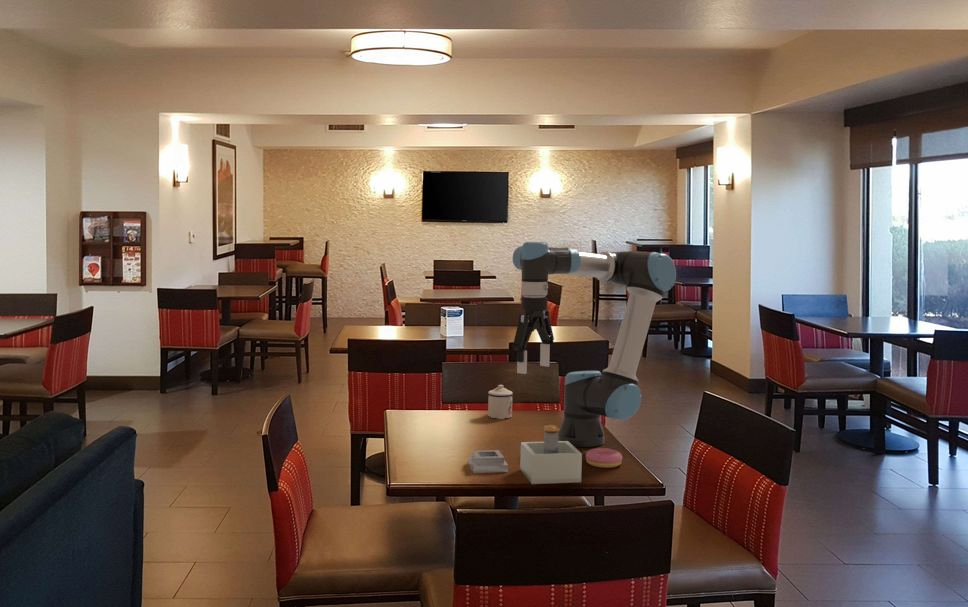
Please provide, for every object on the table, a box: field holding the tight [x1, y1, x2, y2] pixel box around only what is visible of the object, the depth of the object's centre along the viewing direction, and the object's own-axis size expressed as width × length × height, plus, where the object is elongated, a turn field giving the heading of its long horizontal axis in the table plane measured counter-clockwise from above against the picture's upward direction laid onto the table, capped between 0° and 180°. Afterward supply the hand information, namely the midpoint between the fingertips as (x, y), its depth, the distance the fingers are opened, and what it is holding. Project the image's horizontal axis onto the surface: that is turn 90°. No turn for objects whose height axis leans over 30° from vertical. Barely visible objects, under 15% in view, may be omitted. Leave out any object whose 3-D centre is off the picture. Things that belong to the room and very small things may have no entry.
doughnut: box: [585, 447, 623, 469], centre depth 267 cm, size 11×11×4 cm
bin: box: [519, 441, 583, 485], centre depth 253 cm, size 14×14×8 cm
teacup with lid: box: [487, 384, 514, 420], centre depth 326 cm, size 12×9×12 cm
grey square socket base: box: [467, 449, 509, 474], centre depth 260 cm, size 10×10×4 cm
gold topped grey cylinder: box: [543, 424, 561, 454], centre depth 253 cm, size 5×5×13 cm
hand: (533, 369), depth 258 cm, fingers open, 13 cm apart
